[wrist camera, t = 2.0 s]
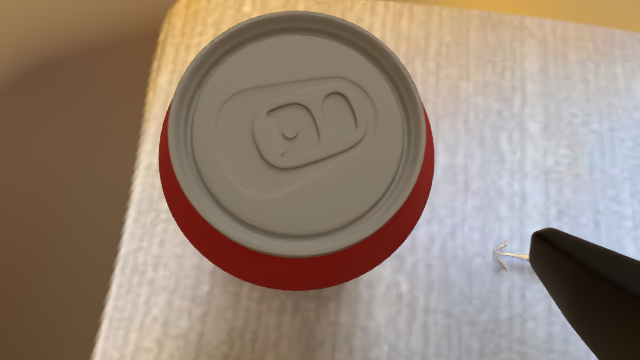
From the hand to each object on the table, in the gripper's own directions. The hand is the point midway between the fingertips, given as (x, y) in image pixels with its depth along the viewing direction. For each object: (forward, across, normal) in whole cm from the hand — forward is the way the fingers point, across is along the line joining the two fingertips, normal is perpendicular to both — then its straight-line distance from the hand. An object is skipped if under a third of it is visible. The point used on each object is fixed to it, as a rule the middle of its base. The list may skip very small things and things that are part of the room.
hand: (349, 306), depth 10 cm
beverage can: (+10, 0, +5) cm, 11 cm away
